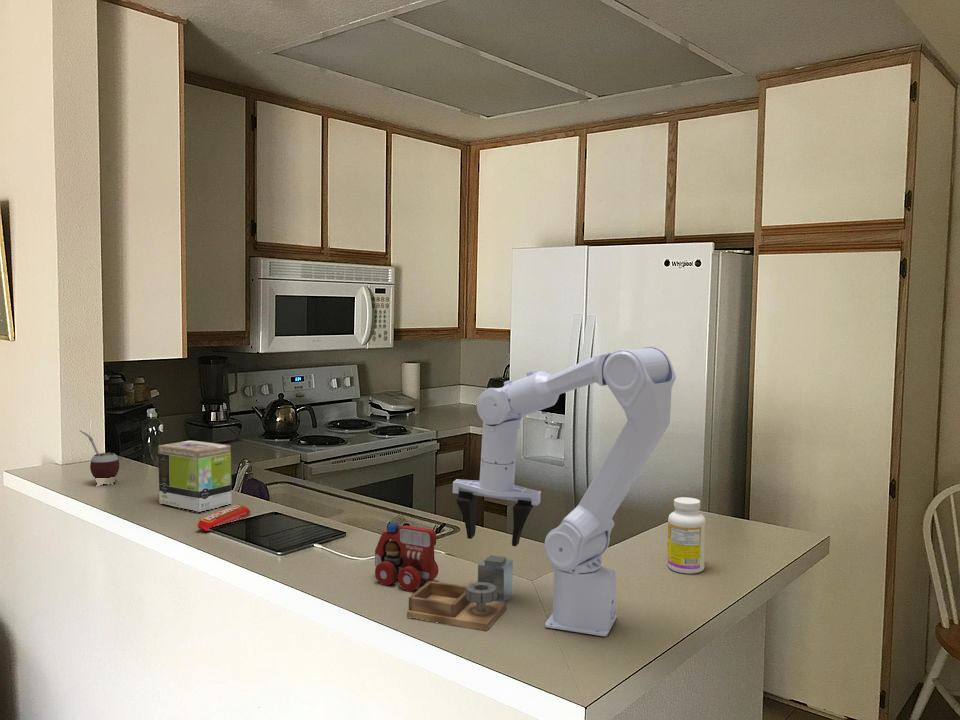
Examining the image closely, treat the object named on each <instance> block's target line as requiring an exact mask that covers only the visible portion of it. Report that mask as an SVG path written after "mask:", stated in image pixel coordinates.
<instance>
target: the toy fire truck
mask: <svg viewBox="0 0 960 720" xmlns="http://www.w3.org/2000/svg"><path fill="white" fill-rule="evenodd" d="M386 529H387V530H385V531H383V532H381V535H380V537H379V540H378V542H377V545H376V548H375V549H374V565H375V570H374V575H375V578H376V580H377V582H379V584H381V585H383V586H390V585H391V584H393V583H394V582H395V581H396V580H397V581H398V582H397V583H398V584H399V586H400V587H401V588H402V589H403V590H405V591H406V592H412V591H414V590H416V589H418V588H419V587H420V585H421V582H422V581H424V582H426V583H428V582H429V581H433V580H435V579H436V578H437V577H438V575H439V566H438V563H437V561H436V560H435V546H436V545H437V532H436V531H435V530H434V529H433V528H432V529H430V528H423V527H419V526H418V527H417V526H411V525H406V524H405V525H402V526H399V524H398V523H397V522H395V521H392V522H389V523H388V524H387V528H386Z"/></svg>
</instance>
